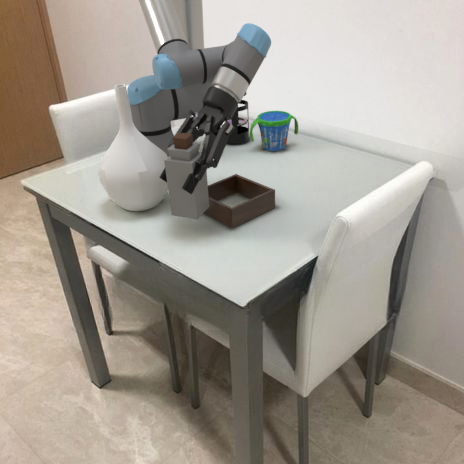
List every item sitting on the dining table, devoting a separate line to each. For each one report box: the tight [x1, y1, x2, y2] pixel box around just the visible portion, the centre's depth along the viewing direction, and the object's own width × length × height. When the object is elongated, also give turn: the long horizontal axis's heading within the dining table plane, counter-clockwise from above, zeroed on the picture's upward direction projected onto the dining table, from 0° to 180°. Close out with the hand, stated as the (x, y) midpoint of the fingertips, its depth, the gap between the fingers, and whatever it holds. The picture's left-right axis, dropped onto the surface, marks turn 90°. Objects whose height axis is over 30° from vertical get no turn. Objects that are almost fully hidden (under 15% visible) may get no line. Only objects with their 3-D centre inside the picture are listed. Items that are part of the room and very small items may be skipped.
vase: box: [98, 83, 168, 212], centre depth 126 cm, size 18×18×30 cm
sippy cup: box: [249, 110, 299, 152], centre depth 159 cm, size 16×10×10 cm
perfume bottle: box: [164, 133, 209, 221], centre depth 114 cm, size 7×7×18 cm
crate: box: [202, 173, 276, 229], centre depth 128 cm, size 15×15×5 cm
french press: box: [226, 91, 251, 146], centre depth 162 cm, size 12×9×23 cm
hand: (175, 185), depth 113 cm, fingers closed on perfume bottle, 8 cm apart
